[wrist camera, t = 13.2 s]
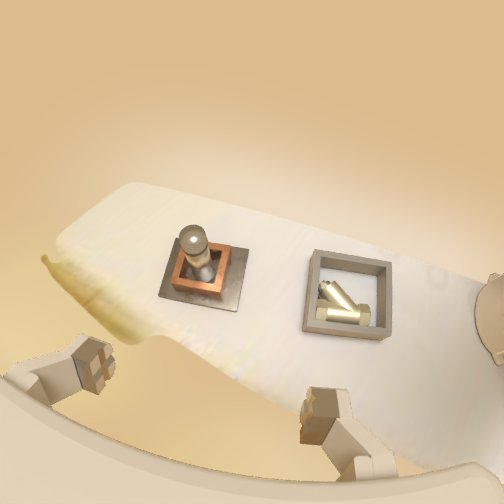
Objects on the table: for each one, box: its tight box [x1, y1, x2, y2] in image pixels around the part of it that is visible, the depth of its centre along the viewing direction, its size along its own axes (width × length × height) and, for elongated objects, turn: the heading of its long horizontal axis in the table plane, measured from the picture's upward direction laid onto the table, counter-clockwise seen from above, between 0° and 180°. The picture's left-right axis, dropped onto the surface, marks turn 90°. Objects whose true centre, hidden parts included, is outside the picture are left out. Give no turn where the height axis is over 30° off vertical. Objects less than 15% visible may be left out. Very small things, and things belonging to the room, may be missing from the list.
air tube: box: [179, 225, 215, 282], centre depth 39 cm, size 3×3×11 cm
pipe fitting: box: [315, 280, 371, 326], centre depth 40 cm, size 8×4×7 cm
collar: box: [158, 238, 249, 312], centre depth 42 cm, size 12×10×4 cm
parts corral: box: [302, 249, 392, 340], centre depth 41 cm, size 12×12×4 cm
